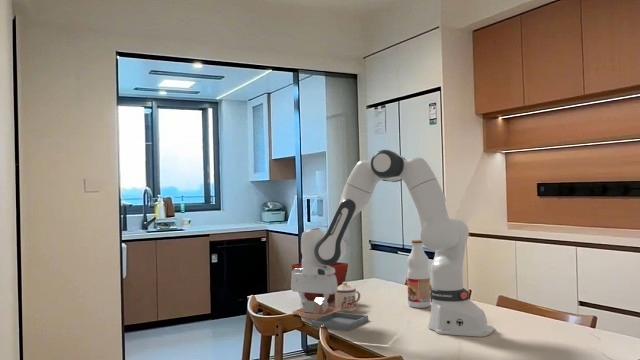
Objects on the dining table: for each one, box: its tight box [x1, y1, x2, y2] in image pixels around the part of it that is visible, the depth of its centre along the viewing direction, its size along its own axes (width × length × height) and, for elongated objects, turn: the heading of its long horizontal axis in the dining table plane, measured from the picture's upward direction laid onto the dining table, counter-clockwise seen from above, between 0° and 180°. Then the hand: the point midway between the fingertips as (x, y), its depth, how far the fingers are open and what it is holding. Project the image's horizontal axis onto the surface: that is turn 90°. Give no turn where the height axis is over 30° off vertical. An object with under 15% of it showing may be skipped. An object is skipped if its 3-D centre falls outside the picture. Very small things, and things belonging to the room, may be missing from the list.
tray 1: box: [292, 306, 343, 320], centre depth 209 cm, size 16×12×2 cm
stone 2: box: [314, 298, 329, 314], centre depth 211 cm, size 4×4×4 cm
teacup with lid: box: [334, 281, 361, 312], centre depth 219 cm, size 12×9×12 cm
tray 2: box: [311, 311, 369, 332], centre depth 195 cm, size 15×16×2 cm
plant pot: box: [291, 261, 349, 304], centre depth 238 cm, size 19×19×17 cm
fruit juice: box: [406, 239, 431, 309], centre depth 222 cm, size 9×9×28 cm
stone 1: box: [302, 300, 320, 314], centre depth 206 cm, size 4×4×4 cm
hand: (314, 304), depth 207 cm, fingers open, 8 cm apart
